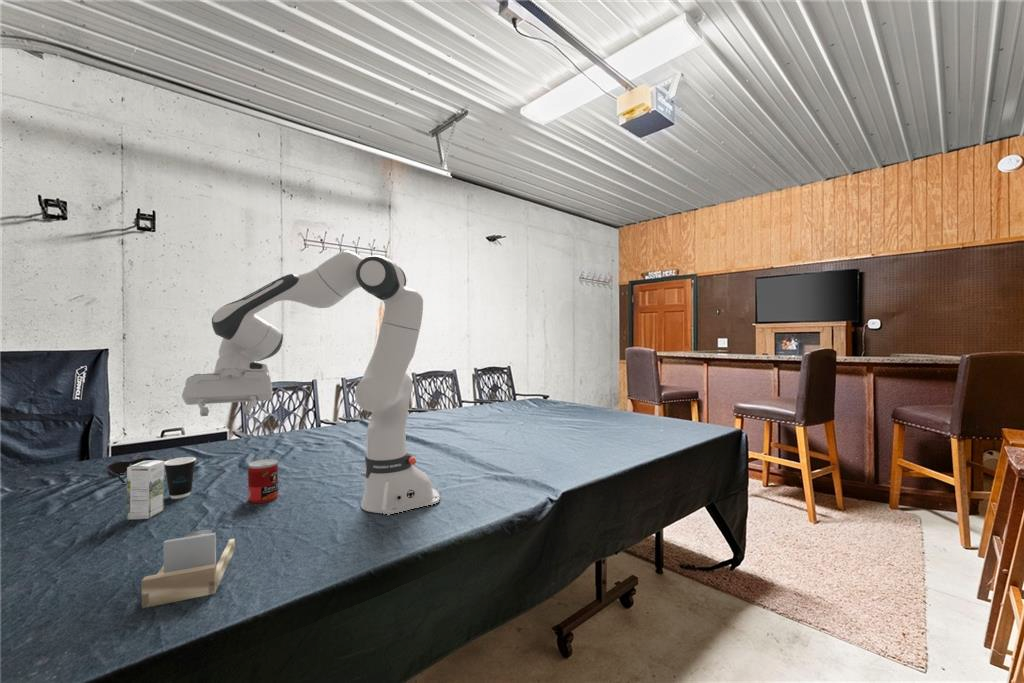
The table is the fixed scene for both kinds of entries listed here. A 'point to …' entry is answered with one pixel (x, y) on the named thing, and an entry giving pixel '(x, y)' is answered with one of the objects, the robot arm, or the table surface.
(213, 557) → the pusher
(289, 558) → the table surface
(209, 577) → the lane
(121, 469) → the sunglasses
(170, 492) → the dixie cup
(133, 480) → the syrup box
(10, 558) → the table surface
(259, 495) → the canned food
